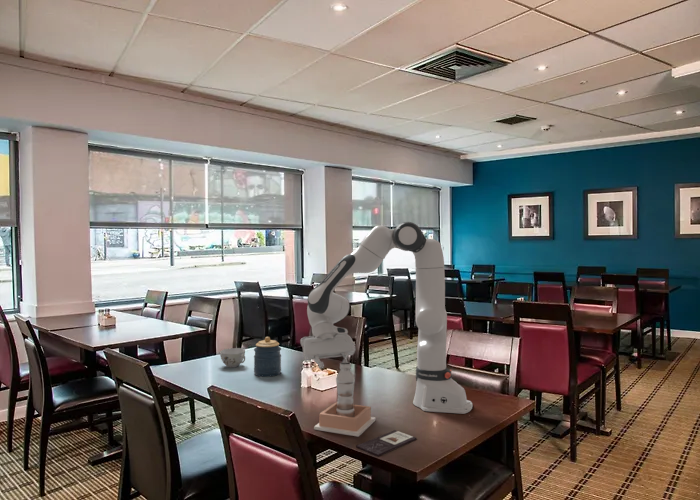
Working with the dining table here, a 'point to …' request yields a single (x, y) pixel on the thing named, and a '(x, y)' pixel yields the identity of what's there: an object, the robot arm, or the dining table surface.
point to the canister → (267, 358)
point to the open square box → (345, 421)
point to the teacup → (233, 356)
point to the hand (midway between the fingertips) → (333, 365)
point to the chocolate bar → (386, 443)
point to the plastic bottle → (345, 391)
